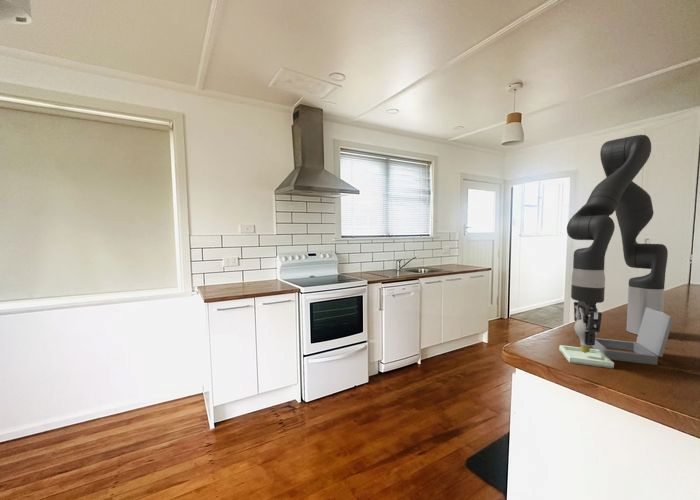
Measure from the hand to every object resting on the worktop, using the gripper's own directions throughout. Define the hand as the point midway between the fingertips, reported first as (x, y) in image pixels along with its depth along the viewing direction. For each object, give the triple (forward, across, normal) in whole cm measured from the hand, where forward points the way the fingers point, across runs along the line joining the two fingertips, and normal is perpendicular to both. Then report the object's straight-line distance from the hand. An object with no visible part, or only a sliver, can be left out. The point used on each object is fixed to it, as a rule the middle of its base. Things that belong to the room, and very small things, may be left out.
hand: (585, 340), depth 86 cm
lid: (-3, +8, -18) cm, 20 cm away
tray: (+5, 0, 0) cm, 5 cm away
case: (+5, +8, -11) cm, 15 cm away
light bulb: (+4, 0, 0) cm, 4 cm away
